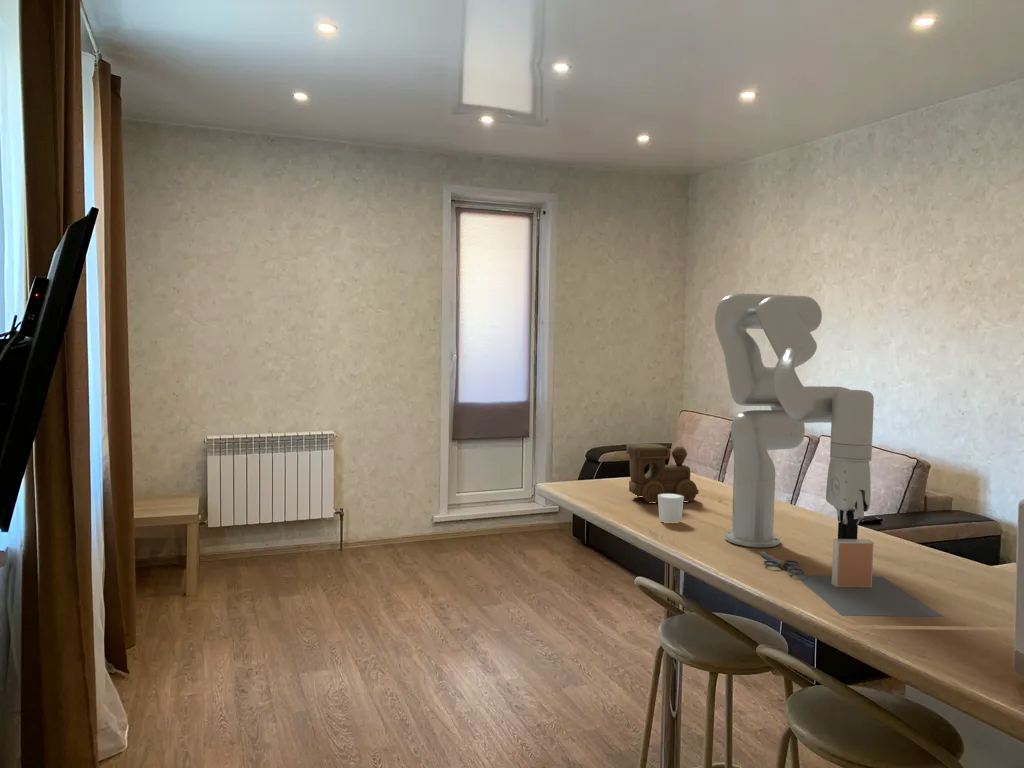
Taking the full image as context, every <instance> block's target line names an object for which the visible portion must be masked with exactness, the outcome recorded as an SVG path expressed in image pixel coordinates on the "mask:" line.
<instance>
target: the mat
mask: <svg viewBox="0 0 1024 768" xmlns="http://www.w3.org/2000/svg"><path fill="white" fill-rule="evenodd" d="M794 576H795V577H796V578H797V579H798V580H799V581H801V583H803V584H804V585H805V586H807V588H809V589H810V590H811V591H812V592H813V593H815V594H816V595H817V596H818V597H819V598H820V599H822V600H823V601H824V603H825V602H826V603H827V605H829V606H830V607H831V608H832V609H834V611H835V612H837V613H838V614H839V615H840V616H841V617H842V616H845V617H846V616H848V617H849V616H850V617H851V616H855V617H859V616H860V617H862V616H863V617H866V616H867V617H917V618H918V617H920V618H921V617H929V618H931V617H933V618H944V615H942V614H941V613H939V612H938V611H936V610H935V609H933V608H931V607H930V606H928V605H927V604H925V603H924V602H922V601H920V600H919V599H918V598H916V597H914V596H913V595H911V594H910V593H908V592H907V591H905V590H904V589H903V588H901V587H900V586H898V585H896V584H895V583H893V582H892V581H891V580H889V579H887V578H885V577H884V576H883V575H872V587H835V586H834V585H833V584H832V574H831V575H830V574H829V575H825V574H824V575H823V574H822V575H820V574H817V575H815V574H802V575H796V574H794Z"/></svg>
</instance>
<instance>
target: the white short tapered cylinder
mask: <svg viewBox="0 0 1024 768" xmlns="http://www.w3.org/2000/svg"><path fill="white" fill-rule="evenodd" d="M683 502H684V496H682V495H679V494H672V493H663V494H659V495H658V503H657V504H658V516H659V517H658V518H659V519H660V520H661V521H665V522H680V521H681V522H682V518H683V510H684V509H683V508H684V503H683Z"/></svg>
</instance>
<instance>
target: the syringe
mask: <svg viewBox="0 0 1024 768" xmlns="http://www.w3.org/2000/svg"><path fill="white" fill-rule="evenodd" d="M757 552H759V553H760V557H762V558H764V559H766V560H763V563H762V564H763V565H764V566H766V567H771V568H777V567H780V568H781V569H783V570H786V572H787V573H788V574H792V575H805V570H804V569H803V568H799V567H798V566H800V562H799V561H797V560H793V559H784V560H782V559H780V558H778V557H776V556H775V555H772V554H771V553H769V552H767V551H764V550H762V551H759V550H757Z"/></svg>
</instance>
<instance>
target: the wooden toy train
mask: <svg viewBox="0 0 1024 768" xmlns="http://www.w3.org/2000/svg"><path fill="white" fill-rule="evenodd" d="M626 454H627V455H629V475H630V480H629V481H628V482H629V483H628V491H629V492H630V493H631V494H633V495H634V494H635V495H637V496H643V497H642V498H643V501H645V502H646V503H647V502H658V495H659V494H663V493H672V494H679V495H682V496H684V501H690V502H692V501H694V499H695V498H696V496H697V495H699V489H698V486H697V485H696V483H695V481H693V480H691V467H689V466H688V465H685V464H684V462H685V460H686V458H687V456H688V452H687V450H686V449H685V447H684V446H675V447H674V449H673V450H672V451H671V456H672V459H673V460H674V462H675V464H666V459H668V458H669V457H670V456H669V455H670V448H668V447H667V446H665V445H662V444H657V443H632V444H631V443H630V444H626ZM648 465H649V468H648V471H647V472H646V473H645V468H646V467H647V466H648ZM635 495H634V496H635ZM637 496H636V497H637ZM691 500H692V501H691Z"/></svg>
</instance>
